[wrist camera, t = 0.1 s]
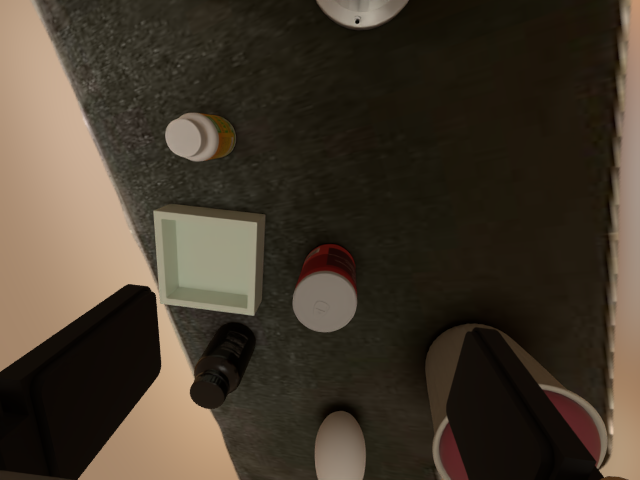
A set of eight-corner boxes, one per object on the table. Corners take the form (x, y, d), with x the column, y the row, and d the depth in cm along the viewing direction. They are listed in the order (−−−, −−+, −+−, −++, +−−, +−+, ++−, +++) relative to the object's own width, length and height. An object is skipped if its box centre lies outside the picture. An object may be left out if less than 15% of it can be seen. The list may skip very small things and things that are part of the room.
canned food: (301, 287, 50) (289, 328, 40) (306, 238, 48) (295, 268, 37) (351, 294, 50) (351, 337, 39) (359, 245, 47) (362, 278, 37)
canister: (386, 370, 54) (409, 511, 34) (450, 283, 48) (522, 391, 28) (480, 416, 55) (555, 577, 35) (553, 336, 49) (692, 476, 29)
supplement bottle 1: (243, 129, 43) (215, 129, 34) (226, 164, 45) (195, 173, 36) (207, 107, 43) (169, 100, 34) (191, 143, 45) (151, 146, 35)
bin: (170, 203, 48) (153, 210, 43) (265, 214, 47) (257, 222, 43) (175, 289, 52) (160, 303, 48) (261, 300, 51) (253, 315, 47)
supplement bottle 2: (208, 331, 54) (171, 384, 43) (242, 315, 53) (213, 366, 41) (230, 362, 56) (200, 421, 44) (264, 348, 54) (242, 405, 43)
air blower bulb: (352, 393, 56) (354, 508, 39) (370, 426, 58) (379, 549, 41) (311, 406, 57) (296, 522, 40) (330, 437, 59) (323, 561, 42)
